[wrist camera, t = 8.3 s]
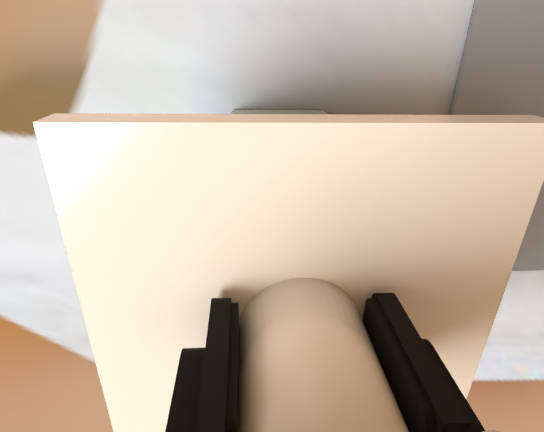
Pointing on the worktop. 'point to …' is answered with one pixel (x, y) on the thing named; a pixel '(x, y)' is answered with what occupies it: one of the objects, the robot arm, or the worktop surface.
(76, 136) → the lid
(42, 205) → the worktop surface
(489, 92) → the mat
